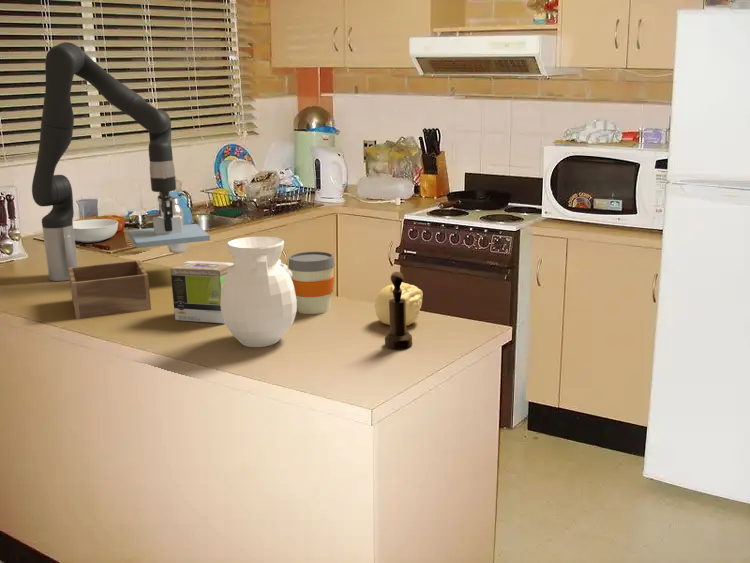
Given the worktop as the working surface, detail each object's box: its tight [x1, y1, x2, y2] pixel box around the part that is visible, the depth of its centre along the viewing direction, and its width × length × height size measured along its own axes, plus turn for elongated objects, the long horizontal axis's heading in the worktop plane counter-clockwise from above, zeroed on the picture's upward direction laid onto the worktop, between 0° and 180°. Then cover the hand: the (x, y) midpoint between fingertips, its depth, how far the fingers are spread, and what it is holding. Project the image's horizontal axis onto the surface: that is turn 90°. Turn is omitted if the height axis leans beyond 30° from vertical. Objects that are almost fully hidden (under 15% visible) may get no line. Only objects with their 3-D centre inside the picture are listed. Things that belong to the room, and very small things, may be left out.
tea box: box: [169, 260, 235, 324], centre depth 228 cm, size 15×10×15 cm, turn 71°
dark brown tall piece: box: [384, 271, 413, 350], centre depth 201 cm, size 7×6×18 cm
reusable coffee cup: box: [287, 251, 336, 315], centre depth 233 cm, size 13×12×15 cm
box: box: [68, 259, 152, 320], centre depth 243 cm, size 20×20×10 cm
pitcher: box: [220, 236, 298, 348], centre depth 206 cm, size 19×18×25 cm
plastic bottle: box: [167, 196, 188, 254], centre depth 307 cm, size 6×7×20 cm
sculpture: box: [374, 282, 424, 327], centre depth 219 cm, size 12×12×11 cm
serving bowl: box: [73, 218, 119, 244], centre depth 335 cm, size 21×21×7 cm
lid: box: [128, 215, 211, 249], centre depth 268 cm, size 22×22×7 cm
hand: (167, 229), depth 268 cm, fingers closed on lid, 4 cm apart
